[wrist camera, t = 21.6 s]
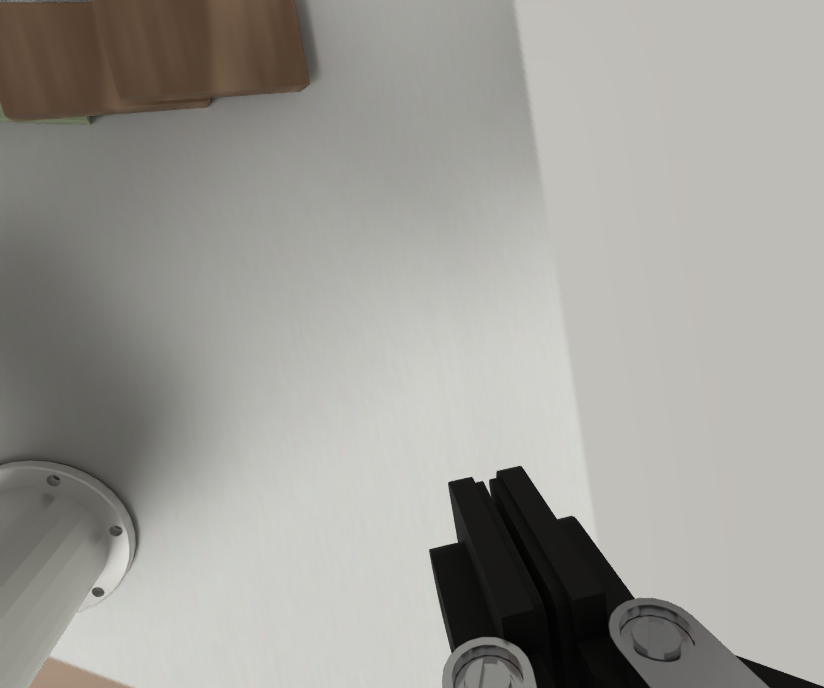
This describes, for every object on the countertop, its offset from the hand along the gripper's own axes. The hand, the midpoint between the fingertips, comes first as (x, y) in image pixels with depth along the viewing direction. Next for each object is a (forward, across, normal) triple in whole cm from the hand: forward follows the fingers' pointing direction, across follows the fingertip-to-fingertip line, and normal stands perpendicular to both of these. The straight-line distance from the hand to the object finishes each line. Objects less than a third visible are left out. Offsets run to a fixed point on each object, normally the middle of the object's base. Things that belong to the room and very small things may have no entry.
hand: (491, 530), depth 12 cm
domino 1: (+25, +8, -16) cm, 31 cm away
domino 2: (+25, +2, -16) cm, 30 cm away
